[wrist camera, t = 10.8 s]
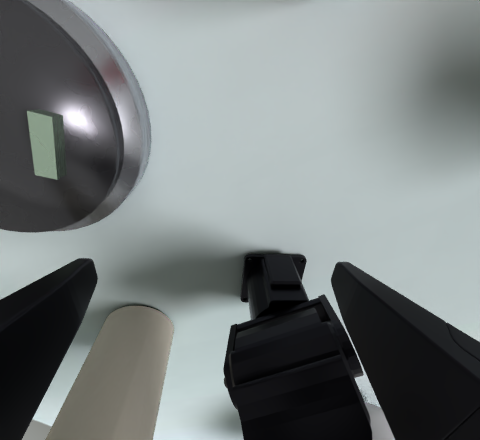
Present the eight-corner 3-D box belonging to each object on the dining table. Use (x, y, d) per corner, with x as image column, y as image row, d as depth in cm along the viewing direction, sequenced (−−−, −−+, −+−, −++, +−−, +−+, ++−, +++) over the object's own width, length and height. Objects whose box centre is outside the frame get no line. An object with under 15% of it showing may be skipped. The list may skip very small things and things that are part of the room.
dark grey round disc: (159, 218, 22) (151, 235, 20) (-31, 212, 21) (-67, 230, 18) (137, -13, 15) (118, -35, 12) (-166, -49, 13) (-263, -83, 10)
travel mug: (166, 299, 27) (90, 590, 11) (180, 343, 31) (137, 606, 15) (95, 306, 27) (-82, 613, 11) (118, 350, 31) (10, 623, 15)
